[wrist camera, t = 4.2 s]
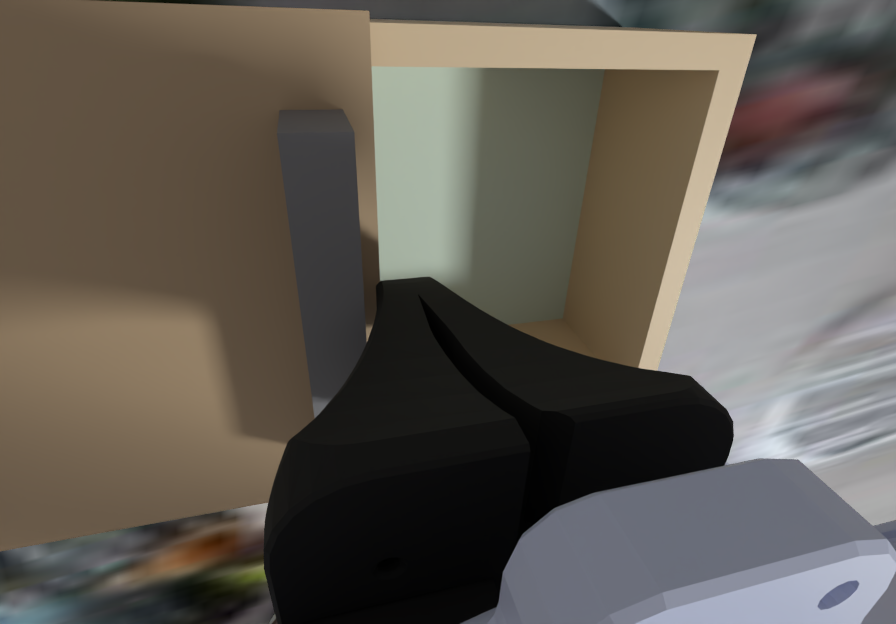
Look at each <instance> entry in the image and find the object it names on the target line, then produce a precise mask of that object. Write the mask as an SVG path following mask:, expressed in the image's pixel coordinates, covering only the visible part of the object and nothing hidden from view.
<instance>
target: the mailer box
mask: <svg viewBox="0 0 896 624" xmlns="http://www.w3.org/2000/svg"><path fill="white" fill-rule="evenodd" d="M755 39H756V35H755V34H737V33H719V32H702V31H684V30H666V29H648V28H630V27H605V26H575V25H545V24H514V23H484V22H454V21H424V20H394V19H370V41H371V66H372V91H373V116H374V142H375V167H376V192H377V217H378V242H379V267H380V281H383V280H395V279H406V278H417V277H431V278H433V279H435V280H436V281H438V282H440V283H441V284H443V285H444V286H446V287H447V288H448V289H450V290H451V291H453V292H454V293H456V294H457V295H459V296H460V297H462V298H463V299H465V300H466V301H468V302H470V303H471V304H473V305H474V306H476V307H477V308H479V309H481V310H482V311H484V312H486V313H487V314H489V315H491V316H493V317H494V318H496V319H498V320H500V321H502V322H504V323H505V324H507V325H509V326H511V327H513V328H515V329H517V330H519V331H521V332H524V333H526V334H528V335H531V336H533V337H535V338H538V339H540V340H542V341H545V342H547V343H550V344H553V345H555V346H558V347H561V348H564V349H567V350H570V351H574V352H577V353H580V354H583V355H586V356H590V357H594V358H597V359H601V360H605V361H609V362H614V363H618V364H622V365H627V366H631V367H636V368H642V369H648V370H655V371H657V369H658V366H659V363H660V359H661V356H662V352H663V349H664V346H665V342H666V339H667V336H668V332H669V329H670V325H671V322H672V319H673V315H674V312H675V309H676V305H677V302H678V298H679V295H680V292H681V288H682V285H683V282H684V278H685V275H686V271H687V268H688V265H689V261H690V258H691V255H692V251H693V248H694V244H695V241H696V238H697V234H698V231H699V228H700V224H701V221H702V217H703V214H704V211H705V207H706V204H707V201H708V197H709V194H710V190H711V187H712V184H713V180H714V177H715V174H716V170H717V167H718V163H719V160H720V157H721V153H722V150H723V147H724V143H725V140H726V136H727V133H728V130H729V126H730V123H731V120H732V116H733V113H734V109H735V106H736V103H737V99H738V96H739V93H740V89H741V86H742V82H743V79H744V76H745V72H746V69H747V66H748V62H749V59H750V55H751V52H752V49H753V45H754V42H755Z"/></svg>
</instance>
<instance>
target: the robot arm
mask: <svg viewBox="0 0 896 624" xmlns="http://www.w3.org/2000/svg"><path fill="white" fill-rule="evenodd" d="M376 305H377V311H376V315H375V320H374V324H373V327H372V330H371V332H370V335H369V338H368V341H367V343H366V346H365V348H364V350H363V352H362V354H361V356H360V358H359V360H358V362H357V364H356V366H355V368H354V369H353V371H352V372H351V374H350V375H349V377H348V379H347V380H346V382H345V383H344V385H343V386H342V387H341V389H340V390H339V391H338V393H337V394H336V395H335V396H334V397H333V398H332V400H331V401H330V402H329V403H328V404H327V405H326V407H325V408H324V409H323V410H322V411H321V412H320V414H319V415H318V416H317V417H316V418H315V419H314V420H312V421H311V422H310V423H309V424H308V425H307V426H305V427H304V428H303V429H302V430H301V431H300V432H299V433H297V434H296V435H295V436H293V437H292V438H291V439H290V440H289V441H288V443H287V445H286V448H285V450H284V453H283V456H282V459H281V461H280V464H279V467H278V470H277V473H276V476H275V479H274V482H273V486H272V490H271V494H270V498H269V502H268V507H267V512H266V519H265V528H264V570H265V574H266V579H267V583H268V587H269V591H270V595H271V599H272V603H273V607H274V611H275V615H276V620H277V624H896V520H894V521H890V522H886V523H882V524H879V525H875V526H872V525H871V524H870V523H869V522H868V521H867V520H865V519H864V518H863V517H862V516H861V515H860V514H859V513H858V512H856V511H855V510H854V509H853V508H852V507H851V506H850V505H849V504H848V503H846V502H845V501H844V500H843V499H842V498H841V497H840V496H839V495H837V494H836V493H835V492H834V491H833V490H832V489H831V488H830V487H828V486H827V485H826V484H825V483H824V482H823V481H822V480H821V479H819V478H818V477H817V476H816V475H815V474H814V473H813V472H812V471H810V470H809V469H808V468H807V467H806V466H805V465H804V464H803V463H801V462H800V461H799V460H794V459H754V460H749V461H744V462H740V463H735V464H730V465H729V464H728V463H727V462H726V460H727V458H728V456H729V452H730V449H731V446H732V442H733V437H734V434H733V421H732V419H731V417H730V415H729V413H728V411H727V409H725V408H724V407H723V406H722V405H721V404H720V403H719V402H718V401H717V400H716V399H715V398H714V397H713V396H711V395H710V394H709V393H708V392H707V391H706V390H705V389H704V388H703V387H702V386H701V385H700V384H699V383H697V382H696V381H695V380H694V379H693V378H692V377H691V376H687V375H681V374H674V373H668V372H661V371H655V370H648V369H642V368H636V367H631V366H627V365H622V364H618V363H614V362H609V361H605V360H601V359H597V358H594V357H590V356H586V355H583V354H580V353H577V352H574V351H570V350H567V349H564V348H561V347H558V346H555V345H553V344H550V343H547V342H545V341H542V340H540V339H538V338H535V337H533V336H531V335H528V334H526V333H524V332H521V331H519V330H517V329H515V328H513V327H511V326H509V325H507V324H505V323H504V322H502V321H500V320H498V319H496V318H494V317H493V316H491V315H489V314H487V313H486V312H484V311H482V310H481V309H479V308H477V307H476V306H474V305H473V304H471V303H470V302H468V301H466V300H465V299H463V298H462V297H460V296H459V295H457V294H456V293H454V292H453V291H451V290H450V289H448V288H447V287H446V286H444V285H443V284H441V283H440V282H438V281H436V280H435V279H433V278H431V277H417V278H406V279H395V280H383V281H380V282H379V283H378V284H377V285H376Z"/></svg>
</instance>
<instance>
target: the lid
mask: <svg viewBox="0 0 896 624" xmlns="http://www.w3.org/2000/svg"><path fill="white" fill-rule="evenodd" d="M379 282H380V267H379V242H378V217H377V192H376V167H375V142H374V116H373V91H372V66H371V41H370V16H369V11H362V10H335V9H308V8H281V7H254V6H227V5H200V4H172V3H145V2H118V1H91V0H0V551H4V550H10V549H15V548H21V547H26V546H32V545H37V544H43V543H48V542H54V541H59V540H65V539H70V538H76V537H81V536H87V535H92V534H98V533H103V532H109V531H114V530H120V529H125V528H131V527H136V526H142V525H147V524H153V523H158V522H164V521H169V520H174V519H180V518H185V517H191V516H196V515H202V514H207V513H213V512H218V511H224V510H229V509H235V508H240V507H246V506H251V505H257V504H262V503H268V502H269V498H270V494H271V490H272V486H273V482H274V479H275V476H276V473H277V470H278V467H279V464H280V461H281V459H282V456H283V453H284V450H285V448H286V445H287V443H288V441H289V440H290V439H291V438H292V437H293V436H295V435H296V434H297V433H299V432H300V431H301V430H302V429H303V428H304V427H305V426H307V425H308V424H309V423H310V422H311V421H312V420H314V419H315V418H316V417H317V416H318V415H319V414H320V412H321V411H322V410H323V409H324V408H325V407H326V405H327V404H328V403H329V402H330V401H331V400H332V398H333V397H334V396H335V395H336V394H337V393H338V391H339V390H340V389H341V387H342V386H343V385H344V383H345V382H346V380H347V379H348V377H349V375H350V374H351V372H352V371H353V369H354V368H355V366H356V364H357V362H358V360H359V358H360V356H361V354H362V352H363V350H364V348H365V346H366V343H367V341H368V338H369V335H370V332H371V330H372V327H373V324H374V320H375V315H376V311H377V305H376V285H377V284H378V283H379Z"/></svg>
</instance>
